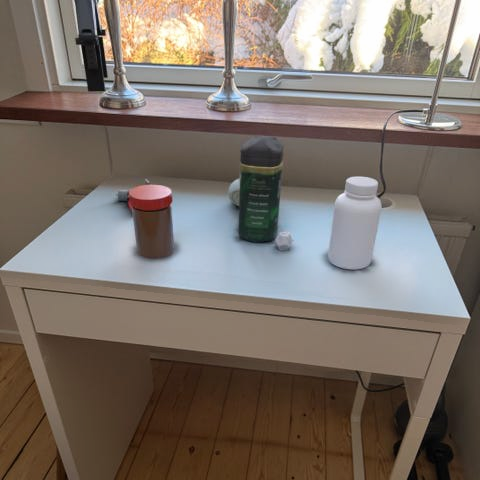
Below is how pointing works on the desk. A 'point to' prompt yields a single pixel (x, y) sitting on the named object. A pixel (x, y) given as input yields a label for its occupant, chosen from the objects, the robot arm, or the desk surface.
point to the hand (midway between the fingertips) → (98, 84)
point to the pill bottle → (355, 224)
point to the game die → (283, 241)
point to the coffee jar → (260, 188)
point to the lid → (150, 197)
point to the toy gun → (127, 195)
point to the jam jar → (154, 232)
